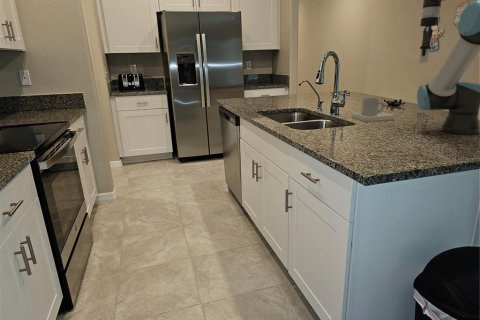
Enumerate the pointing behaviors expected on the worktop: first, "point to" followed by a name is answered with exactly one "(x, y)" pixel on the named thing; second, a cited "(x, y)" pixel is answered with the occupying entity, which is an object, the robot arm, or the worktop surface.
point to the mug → (371, 107)
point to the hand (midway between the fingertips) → (423, 62)
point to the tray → (373, 117)
